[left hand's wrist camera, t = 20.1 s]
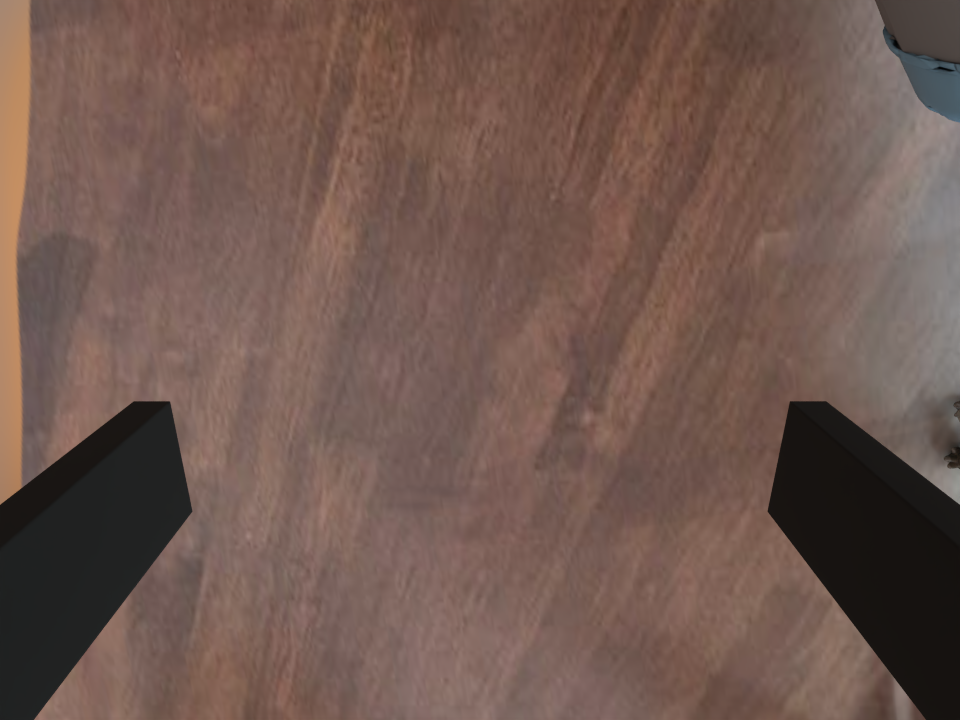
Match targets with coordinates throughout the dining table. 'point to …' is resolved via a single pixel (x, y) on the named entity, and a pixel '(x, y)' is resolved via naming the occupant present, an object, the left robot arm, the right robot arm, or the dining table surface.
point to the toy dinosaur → (955, 459)
